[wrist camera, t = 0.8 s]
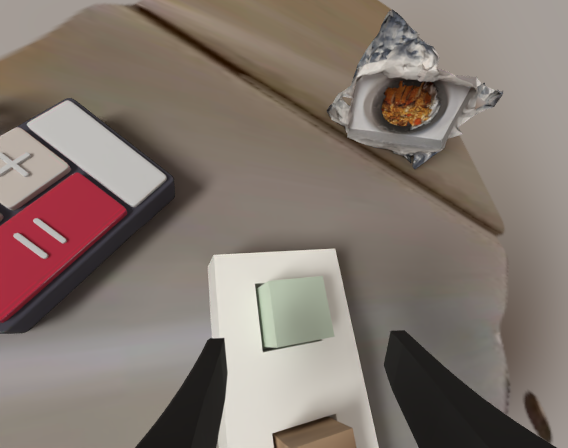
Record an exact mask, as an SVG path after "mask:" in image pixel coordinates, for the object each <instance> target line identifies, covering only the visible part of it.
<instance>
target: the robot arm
mask: <svg viewBox="0 0 568 448" xmlns="http://www.w3.org/2000/svg"><path fill="white" fill-rule="evenodd" d="M384 367H385V370H386V373H387V376H388V379H389V382H390V385H391V388H392V391H393V393H394V395H395V397H396V399H397V402H398V404H399V406H400V408H401V410H402V412H403V415H404V417H405V419H406V421H407V423H408V425H409V427H410V430H411V432H412V434H413V436H414V438H415V440H416V442H417V444H418V447H419V448H556V447H555V446H553V445H551V444H550V443H548V442H547V441H545V440H543V439H542V438H540V437H539V436H537V435H535V434H534V433H532V432H531V431H529V430H528V429H526V428H525V427H523V426H521V425H520V424H518V423H517V422H515V421H514V420H513V419H511V418H510V417H508V416H507V415H505V414H504V413H503V412H501V411H500V410H498V409H497V408H496V407H494V406H493V405H491V404H490V403H489V402H487V401H486V400H485V399H483V398H482V397H481V396H479V395H478V394H477V393H476V392H474V391H473V390H472V389H471V388H469V387H468V386H467V385H466V384H464V383H463V382H462V381H461V380H459V379H458V378H457V377H456V376H455V375H454V374H452V373H451V372H450V371H449V370H448V369H447V368H445V367H444V366H443V365H442V364H441V363H440V362H439V361H437V360H436V359H435V358H434V357H433V356H432V355H431V354H430V353H429V352H428V351H426V350H425V349H424V348H423V347H422V346H421V345H420V344H419V343H418V342H417V341H416V340H415V339H413V338H412V337H411V336H410V335H409V334H408V333H407V332H406V331H405V330H402V331H391V333H390V338H389V343H388V347H387V352H386V357H385V362H384ZM227 375H228V371H227V361H226V350H225V340H224V338H210V339H209V340H207V342H206V344H205V346H204V348H203V350H202V352H201V354H200V356H199V358H198V360H197V361H196V363H195V365H194V367H193V368H192V370H191V372H190V373H189V375H188V376H187V378H186V380H185V381H184V383H183V384H182V386H181V388H180V389H179V391H178V392H177V393H176V395H175V396H174V398H173V399H172V401H171V402H170V404H169V405H168V407H167V408H166V409H165V411H164V412H163V413H162V415H161V416H160V417H159V419H158V420H157V421H156V423H155V424H154V425H153V426H152V428H151V429H150V430H149V432H148V433H147V434H146V435H145V437H144V438H143V439H142V440H141V441H140V442H139V444H138V445H137V446H136V447H135V448H216V445H217V440H218V434H219V429H220V424H221V419H222V414H223V408H224V403H225V396H226V386H227Z"/></svg>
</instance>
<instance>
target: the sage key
mask: <svg viewBox="0 0 568 448" xmlns="http://www.w3.org/2000/svg"><path fill="white" fill-rule="evenodd" d="M256 297H257V306H258V314H259V323H260V332H261V340H262V347H274V348H278V347H283V346H288V345H294V344H299V343H304V342H309V341H314V340H320V339H325V338H330V337H335V336H334V331H333V326H332V321H331V316H330V311H329V306H328V301H327V296H326V291H325V286H324V280H323V276H316V277H305V278H295V279H284V280H274V281H268V282H266V283H265V284H263V285H261V286H260V287H258V288H257V289H256Z"/></svg>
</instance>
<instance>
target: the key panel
mask: <svg viewBox="0 0 568 448" xmlns="http://www.w3.org/2000/svg"><path fill="white" fill-rule="evenodd" d="M316 276H323V280H324V286H325V291H326V296H327V301H328V306H329V311H330V316H331V321H332V326H333V331H334V336H335V337H330V338H325V339H320V340H314V341H309V342H304V343H299V344H294V345H288V346H283V347H278V348H274V347H262V340H261V332H260V323H259V314H258V306H257V297H256V289H257V288H258V287H260V286H261V285H263V284H265V283H266V282H268V281H274V280H284V279H295V278H305V277H316ZM208 280H209V297H210V313H211V330H212V338H224V340H225V350H226V361H227V371H228V375H227V386H226V396H225V403H224V408H223V414H222V419H221V424H220V429H219V434H218V445H219V448H274V444H273V436H272V433H275V432H278V431H281V430H285V429H288V428H291V427H294V426H297V425H301V424H304V423H307V422H310V421H313V420H317V419H320V418H323V417H326V416H327V417H330V418H332V419H334V420H336V421H338V422H341V423H343V424H345V425H347V426H349V427H352V428H353V432H354V437H355V442H356V448H379V446H378V442H377V437H376V433H375V428H374V424H373V419H372V414H371V410H370V405H369V401H368V396H367V392H366V387H365V383H364V378H363V373H362V369H361V364H360V360H359V355H358V351H357V346H356V342H355V337H354V333H353V328H352V323H351V319H350V314H349V310H348V305H347V301H346V296H345V292H344V287H343V282H342V278H341V273H340V269H339V264H338V260H337V255H336V251H335V249H317V250H298V251H279V252H260V253H241V254H222V255H214V256H213V258H212V260H211V262H210V263H209V265H208Z"/></svg>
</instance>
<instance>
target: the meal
mask: <svg viewBox="0 0 568 448" xmlns="http://www.w3.org/2000/svg"><path fill="white" fill-rule="evenodd" d="M438 62H439V56H438V54H437V52H436V50H435V49H434V48H433V47H432V46H430V45H429V44H428V43H426V42H425V41H423V40H422V39H420V38H419V34H418V33H417V32H416V31H414V30H413V29H412V28H411V27H410V26H409V25H408V24H407V23H406V21H405V20H404V19H403V18H402V17H401V16H400V15H399V14H398V13H397V12H395V11H394V10H391V11H389V12H388V14H387V15H386V17H385V19H384V21H383V23H382V25H381V29H380V32H379V34H378V35H377V36H376V38H375V39H374V40H373V41H372V43H371V44H370V46H369V47H368V48H367V50H366V51H365V53H364V55H363V57H362V58H361V60H360V62H359V64H358V65H357V69H356V72H355V75H354V77H353V81H352V85H351V86H349V87H348V88H347V89H346V90H344V91H342V92H340V93H338V95H337V97H336V99H335V100H334V102H333V103H332V104H331V105H330V106H329V108H328V109H327V113H328V114H329V116H330V118H331V119H332V120H334V121H335V122H337V123H339V124H341V125H342V126H345V129H346V132H348V136H347V137H349V138H351V139H353V140H355V141H357V142H360V143H363V144H366V145H368V146H372V147H375V148H383V149H389V150H392V151H393V153H395V154H399V155H403V156H405V157H406V159H407V160H408V161H409V162H410V163H411V156H412V155H414V160H413V168H414V169H416V168H417V167H419V166H420V165H422V164H423V163H424V162H426V161H427V160H428V159H429V158H431V157H432V156H433V155H435V154H436V153H438V152H439V151H441V150H443V149H444V147H445V144H446V141H447V139H448V138H452V137H455V136H458V135H462V134H463V133H462V132H461V131H460V130H459V129H458V127H459V126H460V125H462V124H463V123H464V122H466V121H467V120H468V119H470V118H471V117H472V116H474V115H476V114H478V113H480V112H482V111H484V110H487V109H490V108H492V107H494V106H495V105H496V103H497V102H498V100H499V99H500V98H501V96H502V94H503V91H502V92H500V91H499V90H497V91H496V90H494V89H491V88H489V87H486V86H485V83H483V84H481V82H480V81H479V79H478V78H477V77H470V76H456V75H454V74H452V73H451V72H448V71H445V70H442V69H440V68H438V66H437V65H438ZM356 79H357V80H356ZM355 84H356V86H355ZM354 88H355V89H354ZM342 96H343V97H348V98H351V106H348V105H347V104H346V102H345V101H344V100H343V98H342Z"/></svg>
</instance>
